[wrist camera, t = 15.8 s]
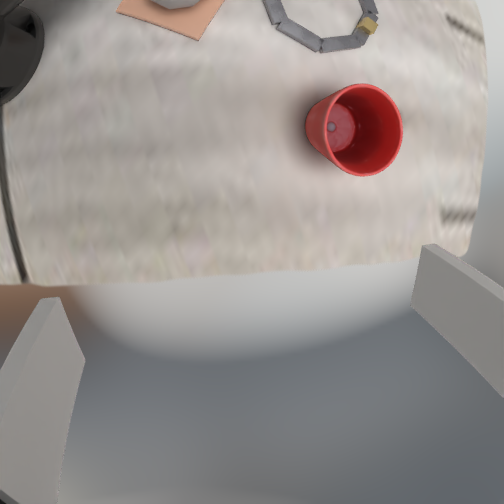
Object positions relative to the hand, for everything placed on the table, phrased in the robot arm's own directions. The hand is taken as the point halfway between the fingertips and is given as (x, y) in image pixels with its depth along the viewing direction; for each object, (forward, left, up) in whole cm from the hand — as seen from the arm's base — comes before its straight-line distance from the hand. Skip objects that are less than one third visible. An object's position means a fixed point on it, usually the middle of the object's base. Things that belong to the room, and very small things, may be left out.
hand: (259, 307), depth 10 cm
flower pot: (+13, +13, -32) cm, 37 cm away
